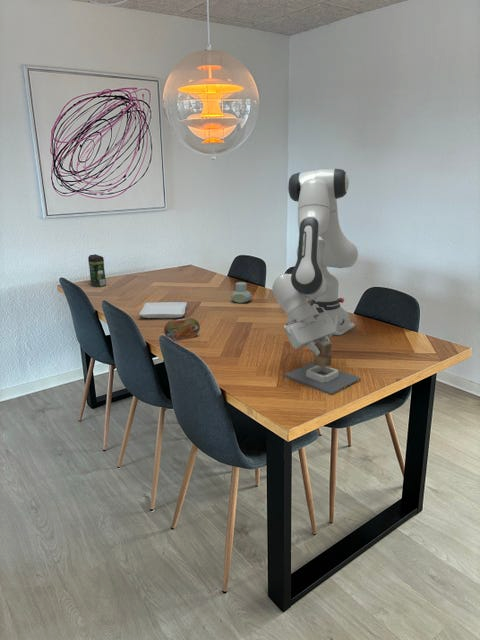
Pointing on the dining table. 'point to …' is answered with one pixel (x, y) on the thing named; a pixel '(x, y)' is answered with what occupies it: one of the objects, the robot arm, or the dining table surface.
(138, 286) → the dining table surface
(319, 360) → the plug
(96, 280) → the coffee jar
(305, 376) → the end holder
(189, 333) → the tin
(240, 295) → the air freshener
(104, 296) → the dining table surface
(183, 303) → the salad plate
